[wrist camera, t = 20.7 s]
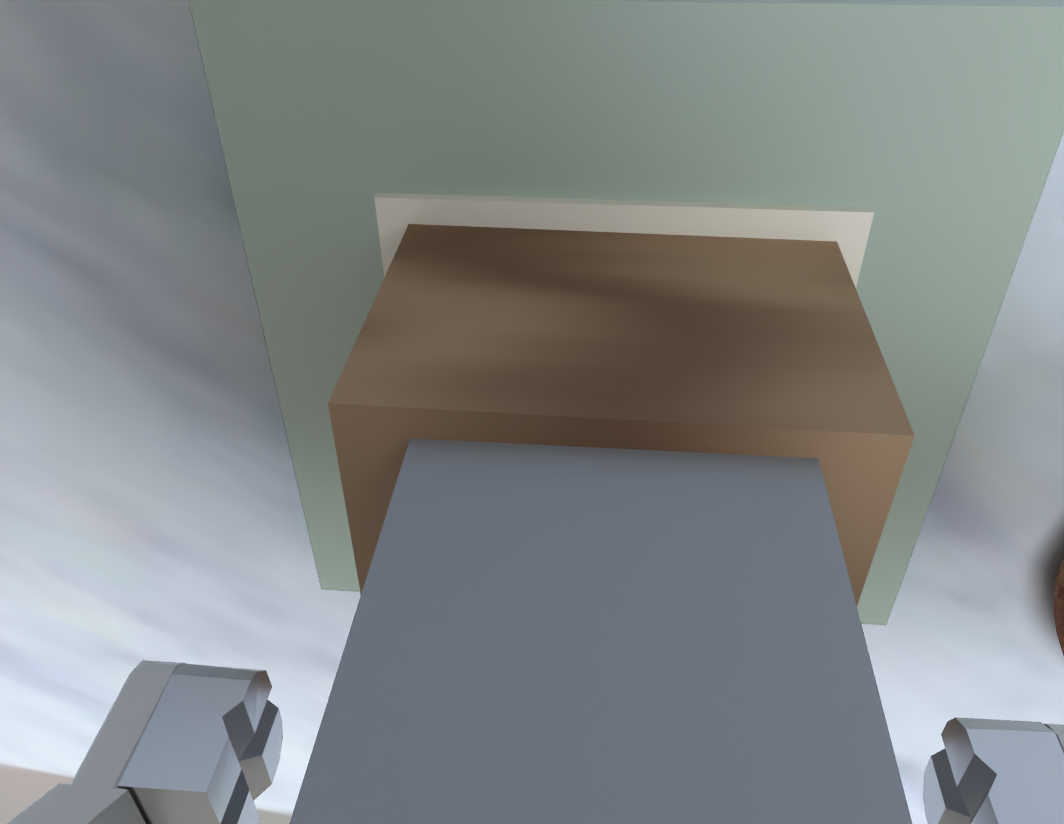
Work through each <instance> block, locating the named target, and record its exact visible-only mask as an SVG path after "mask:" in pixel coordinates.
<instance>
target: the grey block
mask: <svg viewBox="0 0 1064 824" xmlns="http://www.w3.org/2000/svg"><path fill="white" fill-rule="evenodd" d="M290 824H912V821H911V817H910V813H909V809H908V805H907V801H906V797H905V794H904V790H903V786H902V782H901V778H900V774H899V770H898V766H897V762H896V758H895V755H894V751H893V747H892V743H891V739H890V735H889V731H888V727H887V723H886V719H885V715H884V712H883V708H882V704H881V700H880V696H879V692H878V688H877V684H876V680H875V676H874V673H873V669H872V665H871V661H870V657H869V653H868V649H867V645H866V641H865V637H864V633H863V630H862V626H861V622H860V618H859V614H858V610H857V606H856V602H855V598H854V594H853V590H852V587H851V583H850V579H849V575H848V571H847V567H846V563H845V559H844V555H843V551H842V548H841V544H840V540H839V536H838V532H837V528H836V524H835V520H834V516H833V512H832V508H831V505H830V501H829V497H828V493H827V489H826V485H825V481H824V477H823V473H822V469H821V466H820V462H819V458H798V457H778V456H758V455H737V454H717V453H697V452H676V451H656V450H636V449H615V448H595V447H574V446H554V445H534V444H513V443H493V442H473V441H452V440H432V439H412V438H410V440H409V444H408V447H407V450H406V453H405V456H404V460H403V463H402V466H401V469H400V472H399V476H398V479H397V482H396V485H395V488H394V492H393V495H392V498H391V501H390V504H389V508H388V511H387V514H386V517H385V520H384V524H383V527H382V530H381V533H380V536H379V539H378V543H377V546H376V549H375V552H374V555H373V559H372V562H371V565H370V568H369V571H368V575H367V578H366V581H365V584H364V587H363V591H362V594H361V597H360V600H359V603H358V607H357V610H356V613H355V616H354V619H353V623H352V626H351V629H350V632H349V635H348V639H347V642H346V645H345V648H344V651H343V655H342V658H341V661H340V664H339V667H338V671H337V674H336V677H335V680H334V683H333V687H332V690H331V693H330V696H329V699H328V703H327V706H326V709H325V712H324V715H323V719H322V722H321V725H320V728H319V731H318V735H317V738H316V741H315V744H314V747H313V751H312V754H311V757H310V760H309V763H308V767H307V770H306V773H305V776H304V779H303V783H302V786H301V789H300V792H299V795H298V799H297V802H296V805H295V808H294V811H293V815H292V818H291V821H290Z"/></svg>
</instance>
